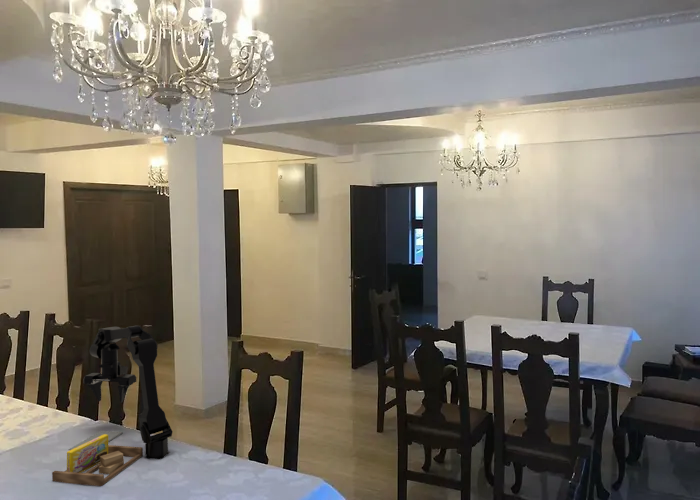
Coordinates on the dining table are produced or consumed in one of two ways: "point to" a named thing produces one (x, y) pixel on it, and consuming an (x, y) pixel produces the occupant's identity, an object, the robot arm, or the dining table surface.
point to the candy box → (87, 454)
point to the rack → (98, 478)
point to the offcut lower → (110, 468)
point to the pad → (110, 436)
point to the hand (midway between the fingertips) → (110, 401)
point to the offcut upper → (111, 459)
